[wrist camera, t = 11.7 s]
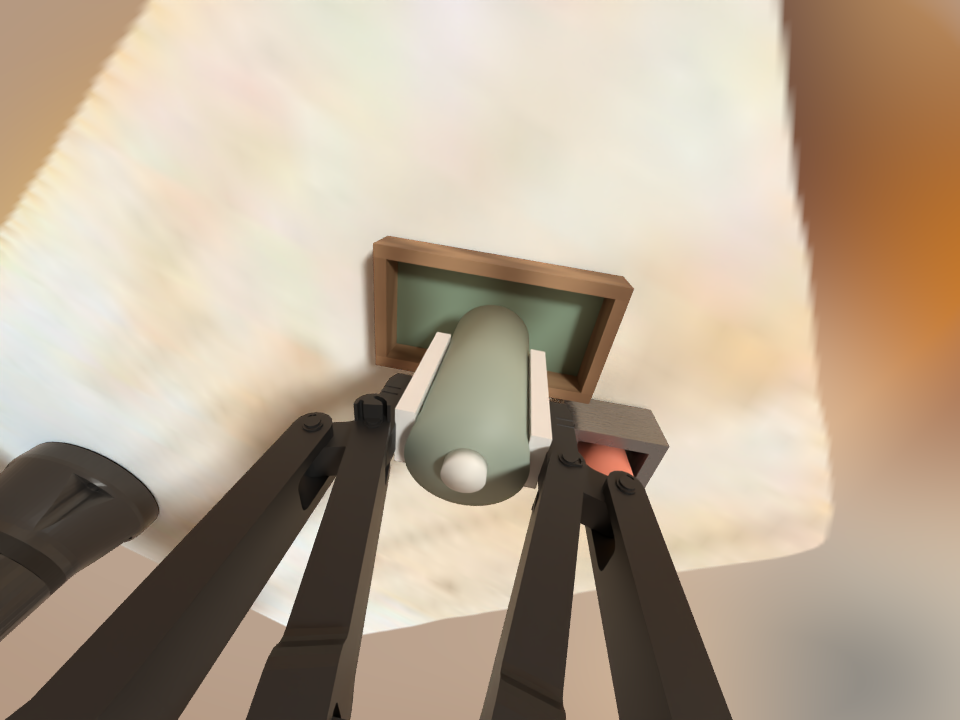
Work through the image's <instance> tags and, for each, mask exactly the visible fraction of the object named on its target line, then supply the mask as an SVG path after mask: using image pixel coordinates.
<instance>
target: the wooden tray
mask: <svg viewBox="0 0 960 720" xmlns="http://www.w3.org/2000/svg"><path fill="white" fill-rule="evenodd" d="M373 265H374V310H375V354H376V365H380V366H385V367H391V368H396V369H401V370H407V371H412V372H416V370H417V368H418V366H419V364H420V362H421V361H422V359H423V357H424V355H425V353H426V351H427V350H428V348H429V346H430V344H431V342H432V340H433V339H434V337H435V335H436V333H437V332H440V333H446V334H451V338H452V336H453V334H454V331H455V329H456V327H457V325H458V323H459V321H460V320H461V318H462V317H463V316H464V315H465V314H466V313H467V312H469V311H470V310H472V309H474V308H476V307H479V306H484V305H498V306H502V307H505V308H507V309H509V310H511V311H513V312H514V313H516V314H517V315H518V316H519V317H520V318H521V319H522V320H523V322H524V323H525V325H526V327H527V330H528V333H529V354H530V350H531V349H532V350H538V351H543V352H545V357H546V370H547V382H548V394H549V397H552V398H558V399H563V400H569V401H574V402H579V403H585V404H589V403H590V400H591V398H592V395H593V393H594V390H595V387H596V385H597V382H598V380H599V377H600V375H601V372H602V370H603V367H604V364H605V362H606V359H607V357H608V354H609V352H610V349H611V347H612V344H613V341H614V339H615V336H616V334H617V331H618V329H619V326H620V323H621V321H622V318H623V316H624V313H625V311H626V308H627V306H628V303H629V300H630V298H631V295H632V293H633V290H634V288H633V287H632V286H631V285H630V284H629V283H628V281H627V280H626V279H625V278H624V277H623V276H617V275H611V274H605V273H600V272H594V271H588V270H582V269H577V268H571V267H565V266H559V265H553V264H548V263H542V262H536V261H530V260H525V259H519V258H513V257H507V256H502V255H496V254H490V253H484V252H478V251H473V250H467V249H461V248H455V247H450V246H444V245H438V244H432V243H427V242H421V241H415V240H409V239H403V238H398V237H392V236H386V237H385V238H383V239H381V240H379V241H377V242H375V243H373ZM450 341H451V340H450Z"/></svg>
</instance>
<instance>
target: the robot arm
mask: <svg viewBox="0 0 960 720" xmlns="http://www.w3.org/2000/svg"><path fill="white" fill-rule="evenodd" d="M450 340H451V334H446V333H440V332H437V333H436V335H435V337H434V339H433V340H432V342H431V344H430V346H429V348H428V350H427V351H426V353H425V355H424V357H423V359H422V361H421V362H420V364H419V366H418V368H417V370H416V372H415V373H414V375H413V376H410V375H405V374H400V373H397V374H396V375H394V376H393V377H391V378H390V379H389V380H388V382H387V383H386V385H385V387H384V388H383V390H382V392H381V393H380V394H367V395H364V396H361V397H359V398H358V399H356V401H355V402H354V416H355V420H354V421H350V422H333V423H332V418H331V417H330V416H329V415H327V414H324V413H317V412H315V413H309V414H306V415H304V416H301V417H300V418H298V419H297V420H296V421H295V422H294V423H293V424H292V425H291V426H290V427H289V428H288V429H287V430H286V431H285V432H284V433H283V435H282V436H281V437H280V438H279V439H278V440H277V441H276V442H275V443H274V444H273V445H272V446H271V447H270V448H269V449H268V450H267V451H266V452H265V453H264V455H263V456H262V457H261V458H260V459H259V460H258V461H257V462H256V463H255V464H254V465H253V466H252V467H251V468H250V469H249V470H248V471H247V472H246V473H245V475H244V476H243V477H242V478H241V479H240V480H239V481H238V482H237V483H236V484H235V485H234V486H233V487H232V488H231V489H230V490H229V491H228V492H227V493H226V495H225V496H224V497H223V498H222V499H221V500H220V501H219V502H218V503H217V504H216V505H215V506H214V507H213V508H212V509H211V510H210V511H209V512H208V513H207V515H206V516H205V517H204V518H203V519H202V520H201V521H200V522H199V523H198V524H197V525H196V526H195V527H194V528H193V529H192V530H191V531H190V532H189V533H188V535H187V536H186V537H185V538H184V539H183V540H182V541H181V542H180V543H179V544H178V545H177V546H176V547H175V548H174V549H173V550H172V551H171V552H170V553H169V555H168V556H167V557H166V558H165V559H164V560H163V561H162V562H161V563H160V564H159V565H158V566H157V567H156V568H155V569H154V570H153V571H152V572H151V573H150V575H149V576H148V577H147V578H146V579H145V580H144V581H143V582H142V583H141V584H140V585H139V586H138V587H137V588H136V589H135V590H134V591H133V593H132V594H131V595H130V596H129V597H128V598H127V599H126V600H125V601H124V602H123V603H122V604H121V605H120V606H119V607H118V608H117V609H116V610H115V612H113V614H112V615H111V616H110V617H109V618H108V619H107V620H106V621H105V622H104V623H103V624H102V625H101V626H100V627H99V628H98V629H97V630H96V632H95V633H94V634H93V635H92V636H91V637H90V638H89V639H88V640H87V641H86V642H85V643H84V644H83V645H82V646H81V647H80V648H79V649H78V650H77V651H76V653H74V655H73V656H72V657H71V658H70V659H69V660H68V661H67V662H66V663H65V664H64V665H63V666H62V667H61V668H60V669H59V670H58V671H57V673H55V675H54V676H53V677H52V678H51V679H50V680H49V681H48V682H47V683H46V684H45V685H44V686H43V687H42V688H41V689H40V690H39V691H38V692H37V694H36V695H35V696H34V697H33V698H32V699H31V700H30V701H28V702H27V703H26V704H24V705H23V706H22V707H21V708H19V709H18V710H17V711H15V712H14V713H13V714H12V715H10V716H9V717H8V718H7V719H5V720H178V718H179V717H180V715H181V714H182V712H183V711H184V709H185V708H186V706H187V704H188V703H189V701H190V700H191V698H192V697H193V695H194V694H195V692H196V690H197V689H198V688H199V686H200V684H201V683H202V681H203V680H204V678H205V677H206V675H207V674H208V672H209V671H210V669H211V667H212V666H213V665H214V663H215V661H216V660H217V658H218V657H219V655H220V654H221V652H222V651H223V649H224V648H225V646H226V645H227V643H228V641H229V640H230V638H231V637H232V635H233V634H234V632H235V631H236V629H237V628H238V626H239V625H240V623H241V621H242V620H243V618H244V617H245V615H246V614H247V612H248V611H249V609H250V608H251V606H252V605H253V603H254V601H255V600H256V598H257V597H258V595H259V594H260V592H261V591H262V589H263V588H264V586H265V585H266V583H267V581H268V580H269V578H270V577H271V575H272V574H273V572H274V571H275V569H276V568H277V566H278V565H279V563H280V561H281V560H282V558H283V557H284V555H285V554H286V552H287V551H288V549H289V548H290V546H291V545H292V543H293V542H294V540H295V538H296V537H297V535H298V534H299V532H300V531H301V529H302V528H303V526H304V525H305V523H306V522H307V520H308V518H309V517H310V515H311V514H312V512H313V511H314V509H315V508H316V506H317V505H318V503H319V502H320V500H321V498H322V497H323V495H324V494H325V492H326V491H327V489H328V488H329V486H330V485H331V483H332V482H333V480H334V478H335V477H336V479H335V482H334V485H333V488H332V491H331V494H330V497H329V500H328V503H327V506H326V509H325V512H324V515H323V518H322V521H321V524H320V527H319V530H318V533H317V536H316V539H315V542H314V545H313V548H312V551H311V554H310V557H309V560H308V563H307V566H306V569H305V572H304V575H303V578H302V581H301V584H300V587H299V590H298V593H297V596H296V599H295V602H294V605H293V608H292V612H291V615H290V618H289V621H288V624H287V627H286V630H285V632H284V635H283V637H282V639H281V641H280V642H279V643H278V644H277V645H276V646H275V647H274V648H273V650H272V651H271V653H270V655H269V657H268V659H267V662H266V664H265V667H264V669H263V672H262V675H261V678H260V681H259V683H258V686H257V689H256V692H255V695H254V698H253V701H252V703H251V706H250V709H249V712H248V715H247V718H246V720H350V717H351V711H352V703H353V692H354V681H355V674H356V668H357V662H358V656H359V650H360V644H361V638H362V633H363V627H364V621H365V615H366V609H367V603H368V597H369V592H370V586H371V580H372V574H373V568H374V562H375V556H376V550H377V544H378V539H379V533H380V527H381V521H382V515H383V509H384V503H385V497H386V491H387V486H388V480H389V474H390V461H391V459H392V456H393V454H394V452H395V455H394V461H399V462H404V463H405V459H404V448H405V444H406V441H407V438H408V436H409V434H410V432H411V429H412V427H413V425H414V424H415V421H416V419H417V417H418V415H419V412H420V410H421V408H422V405H423V403H424V401H425V399H426V396H427V394H428V392H429V389H430V387H431V385H432V383H433V380H434V378H435V376H436V374H437V371H438V369H439V367H440V364H441V362H442V360H443V358H444V355H445V353H446V351H447V348H448V346H449V344H450ZM529 449H530V472H529V477H528V479H527V481H526V483H525V485H524V487H529V488H534V489H535V488H536V485H537V482H538V492H537V495H536V498H535V501H534V504H533V506H532V509H531V510H532V514H531V518H530V522H529V526H528V530H527V534H526V538H525V542H524V546H523V550H522V554H521V558H520V562H519V566H518V570H517V574H516V578H515V582H514V586H513V590H512V594H511V598H510V602H509V606H508V610H507V614H506V618H505V622H504V626H503V630H502V634H501V638H500V642H499V646H498V650H497V654H496V658H495V662H494V666H493V670H492V674H491V678H490V682H489V686H488V690H487V694H486V698H485V702H484V705H483V709H482V713H481V716H480V719H479V720H566V713H565V710H564V707H563V687H564V677H565V667H566V658H567V648H568V637H569V628H570V618H571V608H572V599H573V590H574V580H575V570H576V560H577V550H578V541H579V531H580V523H581V524H583V525H585V528H586V534H587V540H588V545H589V551H590V556H591V562H592V568H593V573H594V579H595V585H596V590H597V596H598V601H599V607H600V613H601V618H602V624H603V630H604V635H605V640H606V647H607V652H608V658H609V663H610V669H611V675H612V680H613V686H614V691H615V697H616V702H617V708H618V714H619V720H732V717H731V714H730V712H729V709H728V707H727V704H726V701H725V699H724V696H723V694H722V691H721V688H720V686H719V683H718V680H717V678H716V675H715V673H714V670H713V667H712V665H711V662H710V659H709V657H708V654H707V651H706V649H705V647H704V644H703V641H702V638H701V636H700V633H699V630H698V628H697V625H696V623H695V620H694V617H693V615H692V612H691V610H690V607H689V604H688V601H687V599H686V596H685V594H684V591H683V588H682V586H681V583H680V581H679V578H678V575H677V572H676V570H675V567H674V565H673V562H672V559H671V557H670V554H669V551H668V549H667V546H666V544H665V541H664V538H663V536H662V533H661V530H660V528H659V525H658V523H657V520H656V517H655V515H654V512H653V509H652V507H651V504H650V501H649V499H648V496H647V494H646V491H645V488H644V487H643V485H642V483H641V482H640V481H639V480H638V479H637V478H636V477H634V476H633V475H631V474H629V473H627V472H624V471H613V472H610V473H609V475H608V476H607V475H605V474H603V473H600V472H598V471H596V470H594V469H592V468H591V467H589V466H588V465H587V464H586V462H585V459H584V458H583V456H582V455H581V454H580V453H579V452H578V447H577V441H576V435H575V429H574V423H573V417H572V412H571V411H570V409H569V408H568V407H567V405H566V404H561V403H556V402H551V401H549V394H548V382H547V370H546V357H545V352H543V351H538V350H532V349H531V350H530V354H529ZM336 475H337V476H336ZM157 516H158V507H157V504H156V501H155V499H154V498H153V496H152V495H151V493H150V492H149V491H148V490H147V488H146V487H145V486H144V485H143V484H142V483H141V482H140V481H139V480H137V479H136V478H135V477H134V476H133V475H131V474H130V473H129V472H127V471H126V470H125V469H123V468H122V467H120V466H119V465H117V464H115V463H114V462H112V461H110V460H108V459H106V458H104V457H103V456H100V455H98V454H96V453H94V452H91V451H89V450H86V449H83V448H80V447H77V446H74V445H69V444H64V443H56V442H49V443H42V444H39V445H37V446H36V447H34V448H32V449H30V450H29V451H27V452H25V453H23V454H22V455H20V456H18V457H17V458H15V459H14V460H12V461H11V462H10V463H9V464H8V466H7V467H6V468H5V470H4V471H3V472H2V473H1V474H0V642H1V641H2V640H3V639H4V638H5V637H6V636H7V635H8V634H9V633H10V632H11V631H13V630H14V629H15V628H16V627H17V626H18V625H19V624H20V623H21V622H22V621H23V620H24V619H26V618H27V617H28V616H29V615H30V614H31V613H32V612H33V611H34V610H35V609H37V608H38V607H39V606H40V605H41V604H42V603H43V602H44V601H45V600H46V599H48V598H49V597H50V596H51V595H52V594H53V593H54V592H55V591H56V590H57V589H58V588H60V587H61V586H62V585H63V584H64V583H65V582H66V581H67V580H68V579H70V578H71V577H72V576H73V575H74V574H76V573H77V572H79V571H80V570H82V569H84V568H85V567H87V566H89V565H90V564H92V563H93V562H95V561H96V560H98V559H100V558H101V557H103V556H104V555H106V554H107V553H108V552H110V551H112V550H113V549H115V548H116V547H118V546H119V545H120V544H122V543H123V542H128V541H130V540H132V539H134V538H136V537H137V536H138V535H140V534H141V533H142V532H143V531H144V530H145V529H146V528H147V527H148V526H149V525H150V524H151V523H152V522H153V521H154V520H155V519H156V518H157Z"/></svg>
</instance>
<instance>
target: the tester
mask: <svg viewBox="0 0 960 720" xmlns="http://www.w3.org/2000/svg"><path fill="white" fill-rule="evenodd" d="M560 403H561V404H566V405H567V407H568V408H569V409H570V411H571V412H572V417H573V423H574V429H575V435H576V441H577V444H578V441H583V442H588V443H593V444H599V445H604V446H609V447H615V448H620V449H625V452H626V455H627V458H628V461H629V464H630V467H631V470H632V473H633V475H634V477H636V478H637V479H638V480H639V481H640V482H641V483H642V485H643V487H644V488H645V487H646V485H647V483H648V482H649V480H650V478H651V477H652V475H653V473H654V472H655V470H656V468H657V467H658V465H659V463H660V462H661V460H662V458H663V457H664V455H665V453H666V451H667V450H668V448H669V445H668V443H667V441H666V439H665V437H664V435H663V433H662V431H661V429H660V427H659V425H658V423H657V421H656V419H655V417H654V415H653V413H652V411H651V410H648V409H642V408H637V407H632V406H626V405H621V404H615V403H610V402H604V401H599V400H594V399H591V400H590V403H589V404H585V403H579V402H574V401H569V400H563V399H561V402H560Z"/></svg>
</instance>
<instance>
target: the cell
mask: <svg viewBox="0 0 960 720" xmlns="http://www.w3.org/2000/svg"><path fill="white" fill-rule="evenodd" d="M404 459H405V463H406V466H407V468H408V470H409V472H410V474H411V475H412V477H413V478H414V479H415V481H416V482H417V483H418V484H419V485H420V486H422V487H423V488H424V489H425V490H427V491H428V492H430V493H431V494H433V495H435V496H437V497H439V498H441V499H444V500H446V501H449V502H453V503H457V504H462V505H470V506H483V505H491V504H496V503H499V502H502V501H504V500H507V499H509V498H510V497H512V496H514V495H515V494H516V493H518V492H519V491H520V490H521V489H522V488H523V486H524V485H525V483H526V481H527V479H528V477H529V472H530V449H529V333H528V330H527V327H526V325H525V323H524V322H523V320H522V319H521V318H520V317H519V316H518V315H517V314H516V313H514V312H513V311H511V310H509V309H507V308H505V307H502V306H498V305H484V306H479V307H476V308H474V309H472V310H470V311H469V312H467V313H466V314H465V315H464V316H463V317H462V318H461V320H460V321H459V323H458V325H457V327H456V329H455V331H454V334H453V336H452V338H451V341H450V344H449V346H448V348H447V351H446V353H445V355H444V358H443V360H442V362H441V364H440V367H439V369H438V371H437V374H436V376H435V378H434V380H433V383H432V385H431V387H430V389H429V392H428V394H427V396H426V399H425V401H424V403H423V405H422V408H421V410H420V412H419V415H418V417H417V419H416V421H415V424H414V425H413V427H412V429H411V432H410V434H409V436H408V438H407V441H406V444H405V448H404Z"/></svg>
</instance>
